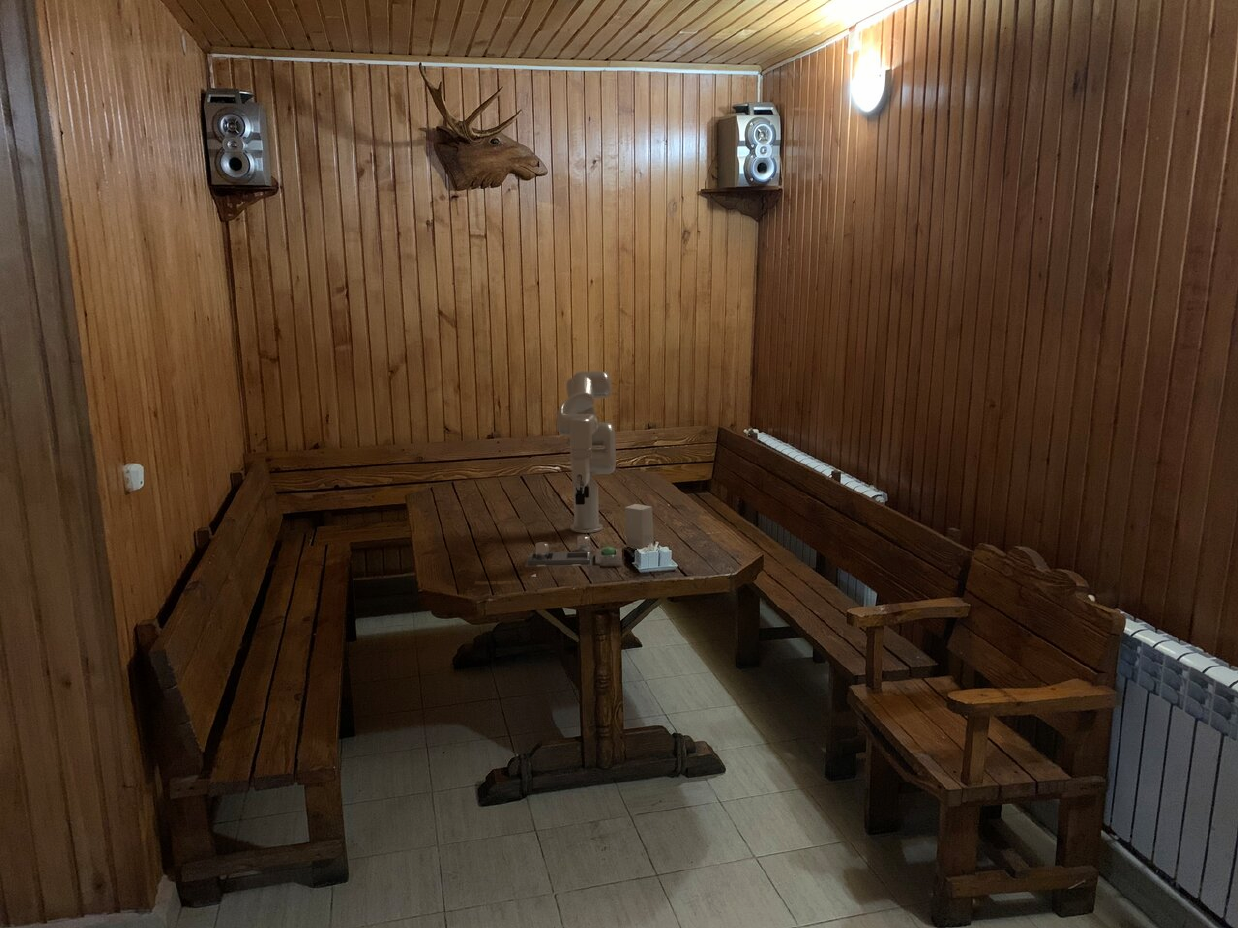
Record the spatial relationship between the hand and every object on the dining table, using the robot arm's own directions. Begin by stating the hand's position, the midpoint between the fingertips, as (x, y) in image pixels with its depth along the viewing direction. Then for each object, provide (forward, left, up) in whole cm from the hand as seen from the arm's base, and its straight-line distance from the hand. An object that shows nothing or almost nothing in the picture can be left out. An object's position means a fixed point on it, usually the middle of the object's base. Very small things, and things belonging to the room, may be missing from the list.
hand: (582, 500), depth 316 cm
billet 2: (-2, 0, -20) cm, 20 cm away
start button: (+9, +9, -18) cm, 22 cm away
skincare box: (-7, +20, -20) cm, 29 cm away
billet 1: (+9, -14, -19) cm, 25 cm away
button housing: (+9, +9, -20) cm, 23 cm away
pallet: (+9, -8, -20) cm, 23 cm away
